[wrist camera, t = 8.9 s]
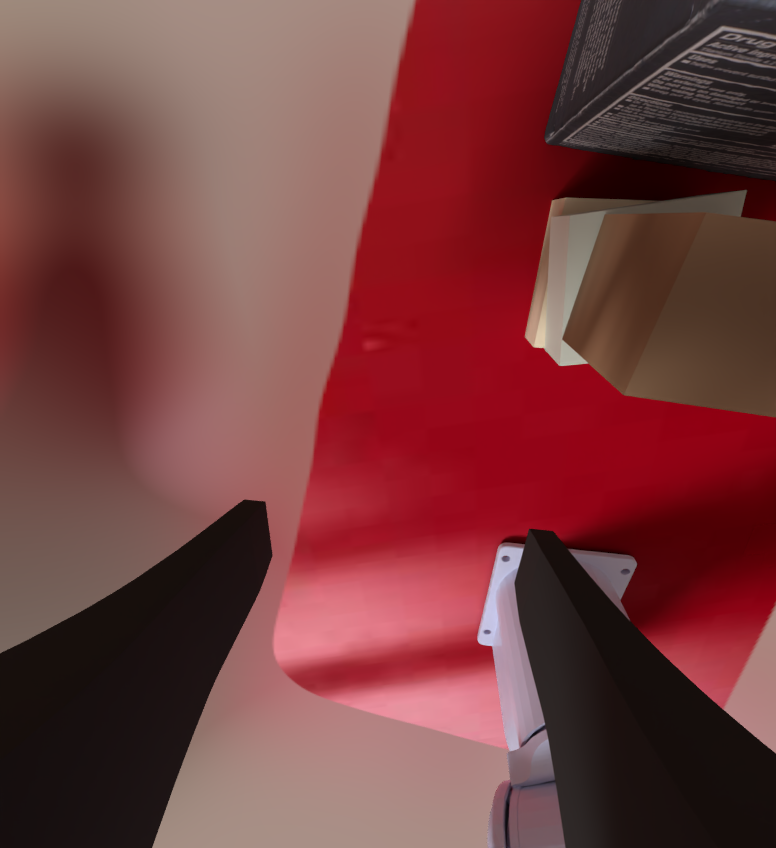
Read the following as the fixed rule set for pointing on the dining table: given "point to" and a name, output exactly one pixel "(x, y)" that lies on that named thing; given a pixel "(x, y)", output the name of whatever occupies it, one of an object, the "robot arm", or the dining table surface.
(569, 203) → the tower base
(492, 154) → the dining table surface
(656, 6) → the small box
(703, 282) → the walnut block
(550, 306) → the tower top
